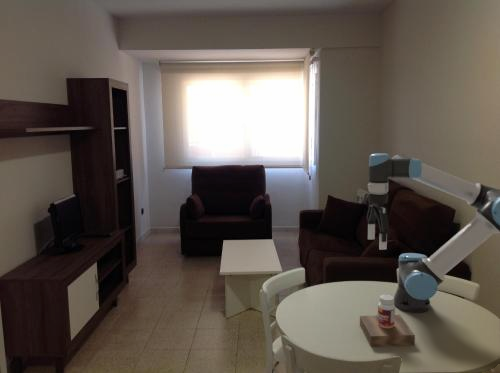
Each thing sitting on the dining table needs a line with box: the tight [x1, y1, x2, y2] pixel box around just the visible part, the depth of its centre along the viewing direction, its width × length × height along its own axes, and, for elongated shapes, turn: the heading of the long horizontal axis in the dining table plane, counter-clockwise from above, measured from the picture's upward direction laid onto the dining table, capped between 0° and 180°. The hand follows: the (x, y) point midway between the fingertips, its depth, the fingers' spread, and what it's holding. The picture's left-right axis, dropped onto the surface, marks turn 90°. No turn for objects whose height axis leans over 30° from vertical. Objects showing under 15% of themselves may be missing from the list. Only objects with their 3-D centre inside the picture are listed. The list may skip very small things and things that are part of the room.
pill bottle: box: [377, 294, 396, 328], centre depth 167 cm, size 6×6×11 cm
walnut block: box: [359, 314, 416, 347], centre depth 168 cm, size 16×16×4 cm
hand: (376, 244), depth 178 cm, fingers open, 13 cm apart
